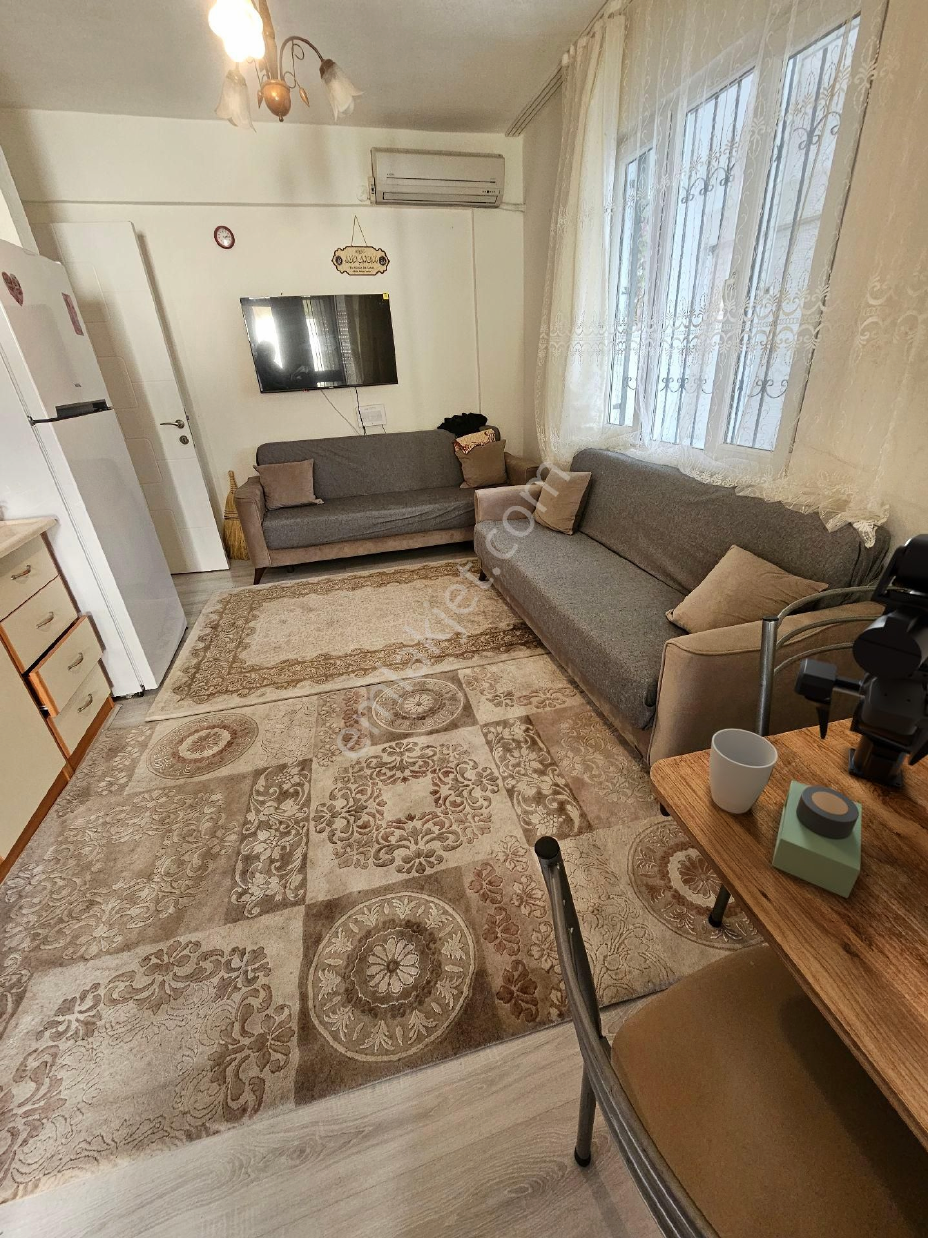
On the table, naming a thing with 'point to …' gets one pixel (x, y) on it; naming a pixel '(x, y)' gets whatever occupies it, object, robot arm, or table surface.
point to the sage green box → (816, 850)
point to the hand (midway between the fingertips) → (864, 750)
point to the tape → (827, 812)
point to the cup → (739, 768)
